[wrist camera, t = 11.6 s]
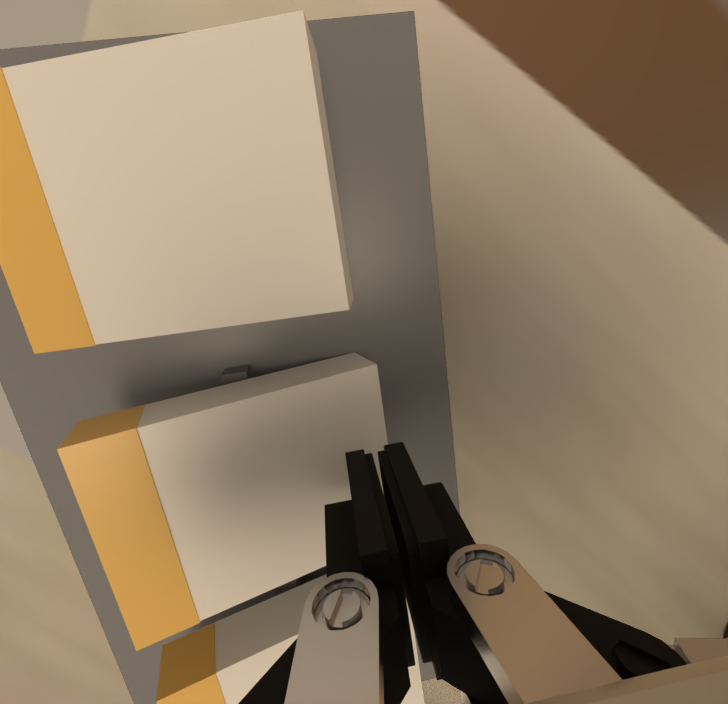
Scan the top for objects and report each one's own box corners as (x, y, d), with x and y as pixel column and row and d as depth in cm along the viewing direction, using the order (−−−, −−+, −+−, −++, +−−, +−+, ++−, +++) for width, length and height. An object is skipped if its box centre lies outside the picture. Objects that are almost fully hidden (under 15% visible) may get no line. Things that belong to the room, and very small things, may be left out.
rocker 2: (354, 351, 13) (377, 363, 12) (378, 504, 15) (401, 534, 13) (79, 420, 10) (56, 448, 9) (144, 598, 12) (136, 651, 10)
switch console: (377, 93, 17) (422, -7, 10) (433, 565, 23) (481, 686, 17) (24, 133, 15) (-185, 47, 9) (188, 621, 22) (138, 777, 16)
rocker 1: (316, 51, 9) (302, 7, 8) (353, 300, 11) (349, 311, 9) (9, 108, 10) (-71, 79, 8) (86, 336, 12) (34, 353, 10)
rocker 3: (385, 548, 15) (407, 582, 14) (403, 663, 17) (425, 707, 15) (162, 644, 13) (156, 701, 11) (208, 769, 14) (209, 836, 13)
